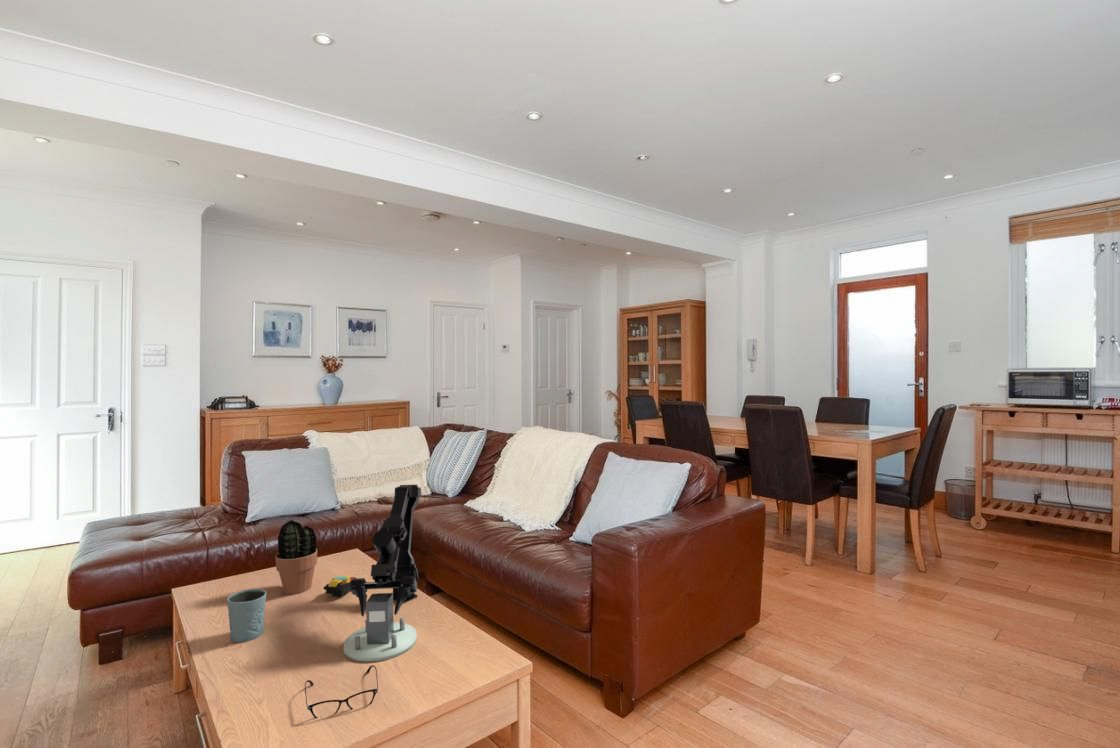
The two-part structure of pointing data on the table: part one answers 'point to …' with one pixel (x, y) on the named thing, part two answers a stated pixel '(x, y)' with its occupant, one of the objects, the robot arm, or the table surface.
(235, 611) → the embossed blue-grey cup
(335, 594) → the gadget
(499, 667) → the table surface
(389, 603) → the block
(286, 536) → the potted plant
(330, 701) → the eyeglasses
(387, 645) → the pin plate
